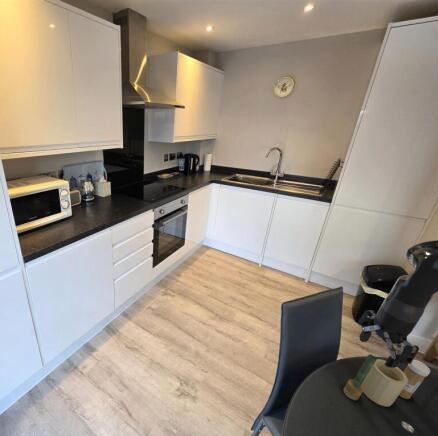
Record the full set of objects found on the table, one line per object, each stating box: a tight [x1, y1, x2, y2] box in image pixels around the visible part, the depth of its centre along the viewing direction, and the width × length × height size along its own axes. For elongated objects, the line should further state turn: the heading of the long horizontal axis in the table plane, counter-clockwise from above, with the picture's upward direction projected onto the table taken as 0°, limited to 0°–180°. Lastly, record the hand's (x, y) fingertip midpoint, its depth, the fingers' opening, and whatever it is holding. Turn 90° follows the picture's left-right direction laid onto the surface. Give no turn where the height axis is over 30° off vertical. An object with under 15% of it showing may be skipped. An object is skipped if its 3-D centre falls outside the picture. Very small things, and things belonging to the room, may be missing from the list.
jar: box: [362, 358, 408, 407], centre depth 80 cm, size 8×8×11 cm
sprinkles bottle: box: [398, 359, 431, 400], centre depth 80 cm, size 5×5×13 cm
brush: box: [343, 353, 378, 401], centre depth 78 cm, size 4×4×18 cm
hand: (375, 352), depth 74 cm, fingers open, 8 cm apart
